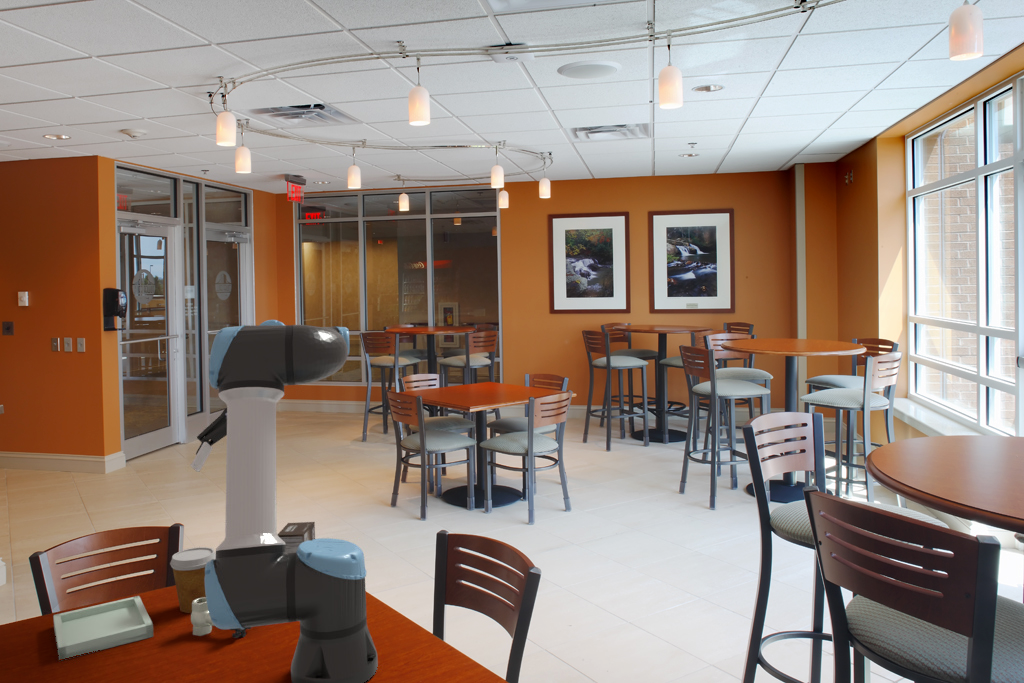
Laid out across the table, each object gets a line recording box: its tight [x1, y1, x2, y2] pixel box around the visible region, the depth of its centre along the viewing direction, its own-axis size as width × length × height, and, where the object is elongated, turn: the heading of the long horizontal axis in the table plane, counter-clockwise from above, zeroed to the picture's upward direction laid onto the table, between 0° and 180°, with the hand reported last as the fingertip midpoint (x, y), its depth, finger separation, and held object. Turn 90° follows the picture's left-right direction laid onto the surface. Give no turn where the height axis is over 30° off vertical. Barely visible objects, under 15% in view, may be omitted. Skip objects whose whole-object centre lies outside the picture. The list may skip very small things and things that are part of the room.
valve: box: [190, 597, 252, 639], centre depth 142 cm, size 7×7×12 cm
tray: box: [52, 595, 154, 661], centre depth 144 cm, size 18×16×2 cm
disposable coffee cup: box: [169, 546, 216, 614], centre depth 155 cm, size 10×10×12 cm
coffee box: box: [277, 521, 316, 553], centre depth 159 cm, size 9×6×16 cm
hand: (217, 471), depth 161 cm, fingers open, 13 cm apart
